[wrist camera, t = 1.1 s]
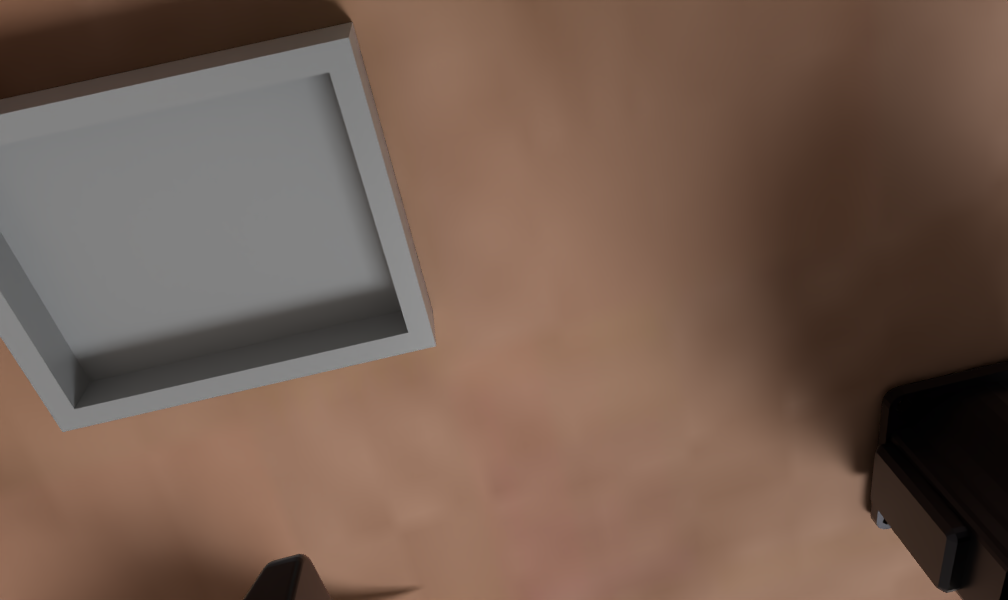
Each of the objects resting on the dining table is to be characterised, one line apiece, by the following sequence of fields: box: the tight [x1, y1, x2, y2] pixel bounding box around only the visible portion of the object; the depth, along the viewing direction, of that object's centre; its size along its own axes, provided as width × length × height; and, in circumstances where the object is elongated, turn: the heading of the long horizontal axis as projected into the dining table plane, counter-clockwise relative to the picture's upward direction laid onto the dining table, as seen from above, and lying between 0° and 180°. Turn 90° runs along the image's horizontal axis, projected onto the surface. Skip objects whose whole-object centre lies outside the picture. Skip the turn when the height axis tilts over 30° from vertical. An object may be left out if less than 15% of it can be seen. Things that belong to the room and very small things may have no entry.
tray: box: [0, 22, 436, 432], centre depth 18 cm, size 10×8×2 cm
